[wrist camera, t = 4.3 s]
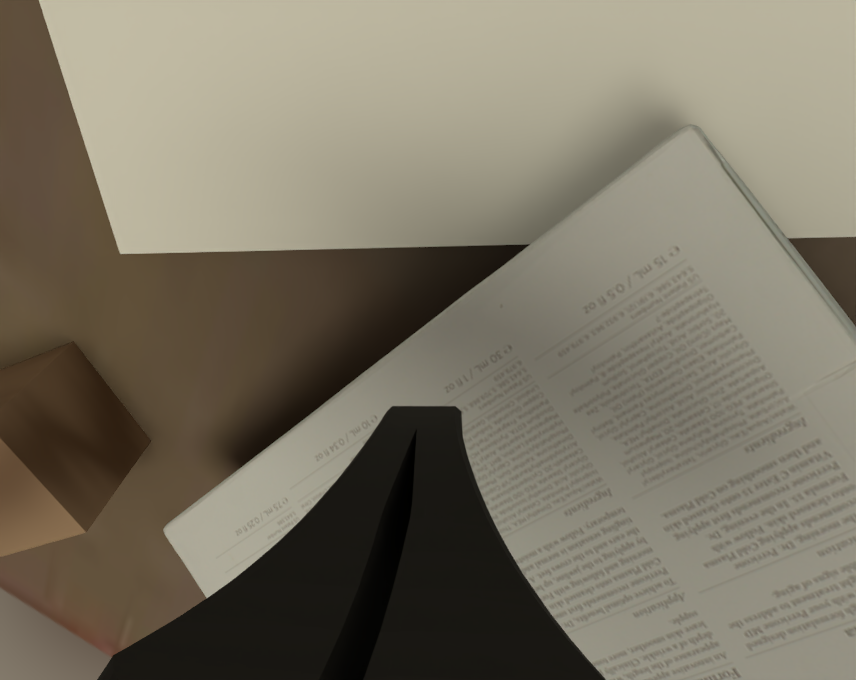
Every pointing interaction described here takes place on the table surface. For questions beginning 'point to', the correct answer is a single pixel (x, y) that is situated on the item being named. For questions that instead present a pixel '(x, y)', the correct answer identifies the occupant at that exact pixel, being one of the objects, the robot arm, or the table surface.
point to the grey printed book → (625, 433)
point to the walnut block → (59, 448)
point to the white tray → (444, 113)
